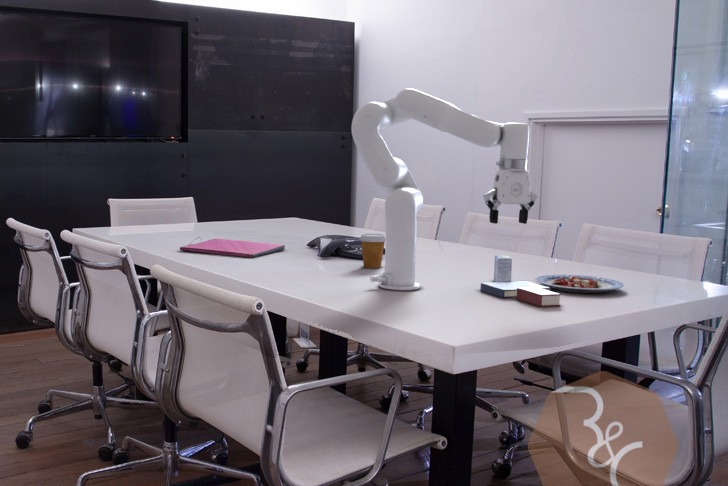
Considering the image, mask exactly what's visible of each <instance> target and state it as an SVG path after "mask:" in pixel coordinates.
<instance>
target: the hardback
mask: <svg viewBox="0 0 728 486" xmlns="http://www.w3.org/2000/svg"><path fill="white" fill-rule="evenodd" d="M525 287H538V288H541V289H545V290H548V291H550V290H551V287H550V286H547V285H543V284H539V283H535V282H531V281H527V280H521V281H520V280H518V281H516V280H515V281H511V282H495V281H493V282H491V281H490V282H481V283H480V292H482V293H485V294H489V295H492V296H495V297H498V298H501V299H517V288H525Z"/></svg>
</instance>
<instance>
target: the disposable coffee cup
mask: <svg viewBox="0 0 728 486" xmlns="http://www.w3.org/2000/svg"><path fill="white" fill-rule="evenodd" d="M359 240H360V242H361V243H360V244H361V253H362V263H363V267H364V268H367V269H381V268H382V264H383V263H382V261H383V255H384V251H385V249H384V248H385V243H386V234H382V233H361V235H360V237H359Z"/></svg>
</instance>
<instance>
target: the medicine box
mask: <svg viewBox="0 0 728 486" xmlns="http://www.w3.org/2000/svg"><path fill="white" fill-rule="evenodd" d="M512 267H513V259H512V258H511V256H509V255H505V254H502V255H501V254H498V255H497V254H495V255H494V265H493V268H494V269H493V282H512Z"/></svg>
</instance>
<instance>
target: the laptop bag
mask: <svg viewBox="0 0 728 486" xmlns="http://www.w3.org/2000/svg"><path fill="white" fill-rule="evenodd" d="M197 239H200V241H201V242H196V243H193V242H194V241H195V240H197ZM192 243H193V244H192ZM285 246H286V245H285V244H279V243H269V242H261V241H260V242H258V241H251V240H250V241H247V240H237V239H229V238H228V239H226V238H211V239H208V240H205V241H202V238H201V237H200V236H198V237H197V238H195V239H194V240H192V241H191V242H190V243H189V244H187V245H184V246H180V247H179V251H184V252H189V253H191V252H193V253H201V254H209V255H218V256H229V257H238V258H248V259H249V258H251V259H254V258H256V257H261V256H265V255H268V254H272V253H278V252H283V251H285V250H286V249H285V248H286V247H285Z"/></svg>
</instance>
